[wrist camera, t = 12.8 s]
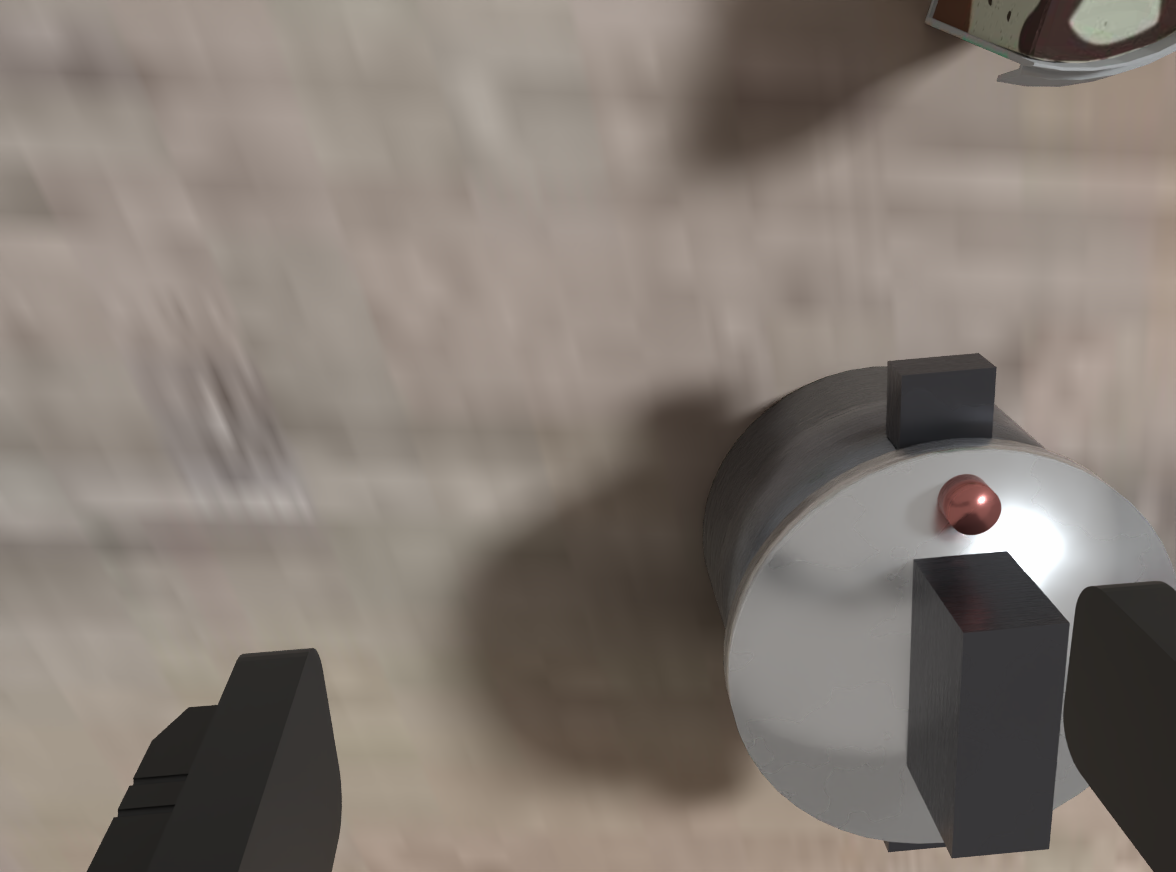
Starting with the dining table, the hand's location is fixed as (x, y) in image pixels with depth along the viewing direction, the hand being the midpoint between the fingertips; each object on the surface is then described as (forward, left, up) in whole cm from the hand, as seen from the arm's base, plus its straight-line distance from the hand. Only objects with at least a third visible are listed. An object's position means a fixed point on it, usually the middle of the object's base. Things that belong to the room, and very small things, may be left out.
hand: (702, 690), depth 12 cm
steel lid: (+11, -14, -22) cm, 28 cm away
